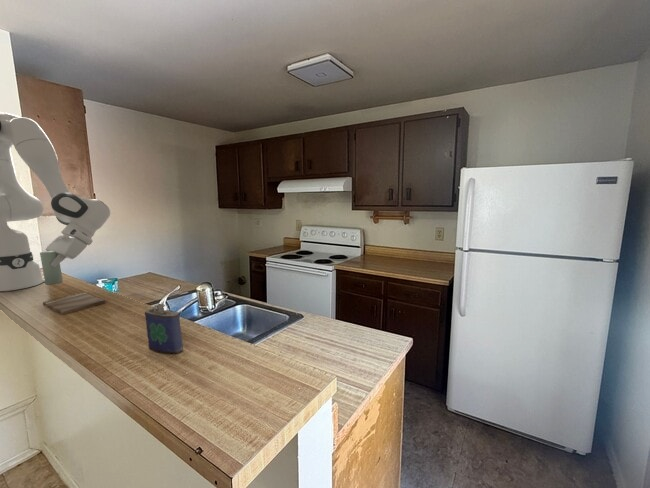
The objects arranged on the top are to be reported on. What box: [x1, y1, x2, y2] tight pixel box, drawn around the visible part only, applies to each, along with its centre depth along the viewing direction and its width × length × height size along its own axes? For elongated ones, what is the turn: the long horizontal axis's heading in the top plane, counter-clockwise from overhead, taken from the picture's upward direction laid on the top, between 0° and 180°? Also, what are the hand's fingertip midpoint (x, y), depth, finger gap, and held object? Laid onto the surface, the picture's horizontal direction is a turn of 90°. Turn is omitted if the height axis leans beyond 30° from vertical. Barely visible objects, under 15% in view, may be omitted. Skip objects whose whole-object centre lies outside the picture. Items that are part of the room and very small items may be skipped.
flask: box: [144, 303, 184, 355], centre depth 73 cm, size 10×3×12 cm, turn 69°
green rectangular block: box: [39, 250, 64, 286], centre depth 116 cm, size 5×5×12 cm
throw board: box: [42, 292, 106, 315], centre depth 109 cm, size 18×12×1 cm, turn 57°
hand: (48, 264), depth 115 cm, fingers closed on green rectangular block, 5 cm apart
